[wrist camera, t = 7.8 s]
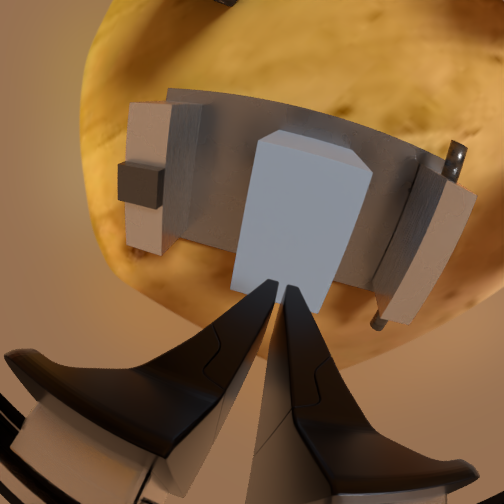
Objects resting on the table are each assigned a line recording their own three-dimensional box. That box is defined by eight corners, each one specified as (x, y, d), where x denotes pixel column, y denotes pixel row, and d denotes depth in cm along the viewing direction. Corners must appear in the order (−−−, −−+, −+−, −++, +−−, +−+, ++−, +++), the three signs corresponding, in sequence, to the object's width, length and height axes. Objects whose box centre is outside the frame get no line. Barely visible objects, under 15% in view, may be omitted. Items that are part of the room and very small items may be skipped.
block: (352, 150, 16) (372, 172, 10) (319, 252, 20) (317, 313, 14) (279, 129, 17) (258, 140, 11) (256, 234, 21) (230, 289, 15)
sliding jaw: (457, 146, 14) (489, 158, 10) (385, 309, 21) (393, 347, 18) (430, 132, 14) (459, 140, 10) (360, 303, 22) (365, 341, 18)
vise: (455, 165, 15) (499, 191, 10) (399, 292, 22) (414, 344, 16) (174, 88, 17) (123, 86, 12) (161, 225, 24) (121, 261, 18)
